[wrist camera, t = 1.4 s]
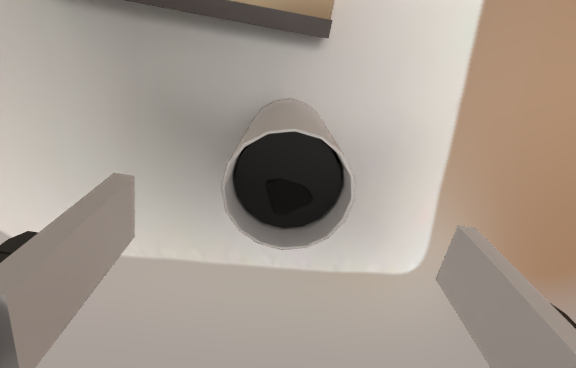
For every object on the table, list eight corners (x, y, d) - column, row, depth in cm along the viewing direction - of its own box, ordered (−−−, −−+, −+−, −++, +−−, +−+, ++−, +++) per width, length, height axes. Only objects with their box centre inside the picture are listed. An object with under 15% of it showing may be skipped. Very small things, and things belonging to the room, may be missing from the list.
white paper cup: (340, 164, 27) (367, 232, 18) (259, 186, 28) (247, 262, 19) (318, 81, 25) (338, 110, 15) (231, 107, 25) (200, 150, 16)
